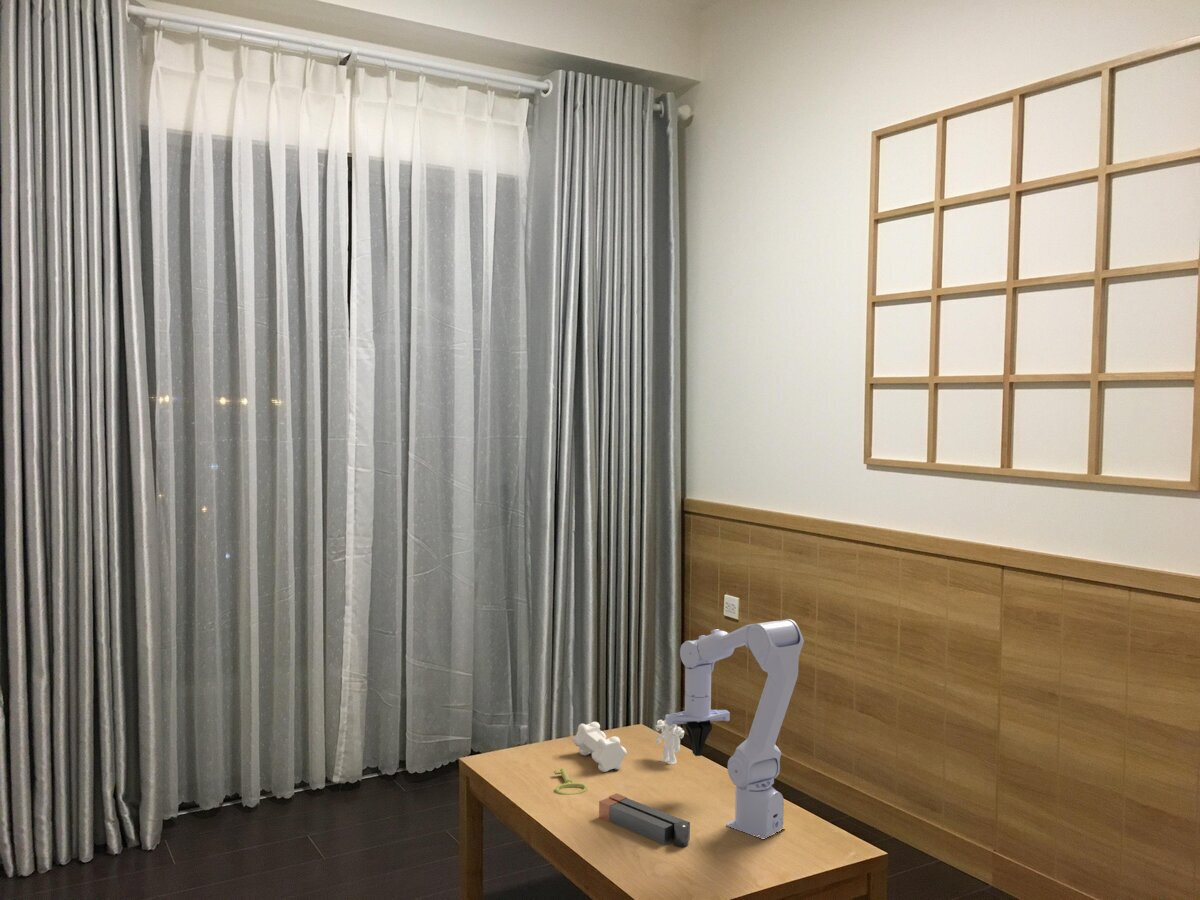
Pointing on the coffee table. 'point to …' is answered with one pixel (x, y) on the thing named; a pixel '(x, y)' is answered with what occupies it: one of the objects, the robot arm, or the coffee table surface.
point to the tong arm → (679, 826)
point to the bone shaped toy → (599, 746)
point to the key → (568, 784)
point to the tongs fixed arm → (635, 821)
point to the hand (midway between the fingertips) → (697, 754)
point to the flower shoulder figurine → (669, 740)
